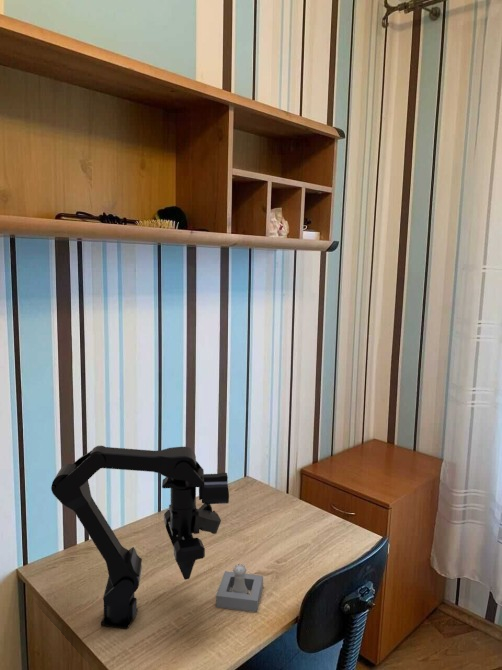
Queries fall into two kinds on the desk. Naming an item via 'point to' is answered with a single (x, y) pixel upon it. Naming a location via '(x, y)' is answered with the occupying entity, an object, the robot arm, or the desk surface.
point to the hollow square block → (238, 599)
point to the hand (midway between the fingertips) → (183, 567)
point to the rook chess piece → (239, 580)
